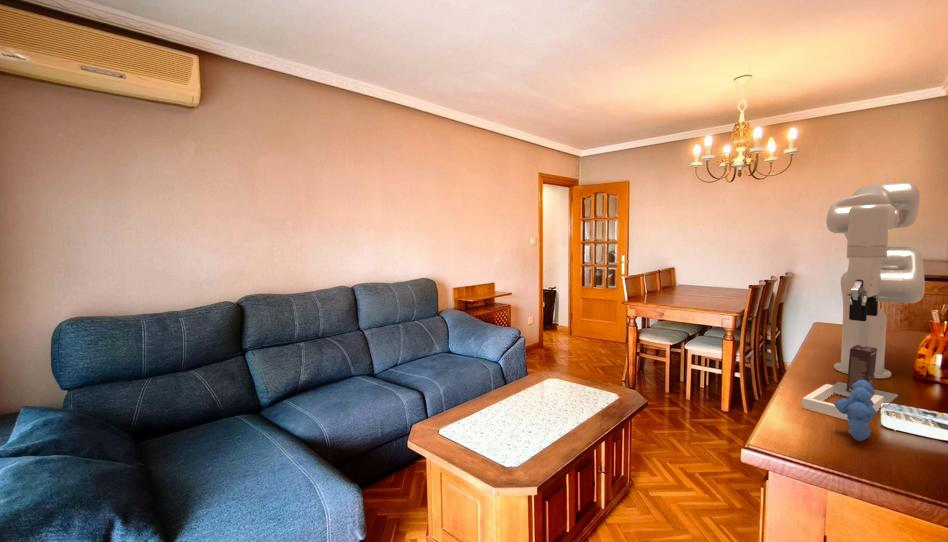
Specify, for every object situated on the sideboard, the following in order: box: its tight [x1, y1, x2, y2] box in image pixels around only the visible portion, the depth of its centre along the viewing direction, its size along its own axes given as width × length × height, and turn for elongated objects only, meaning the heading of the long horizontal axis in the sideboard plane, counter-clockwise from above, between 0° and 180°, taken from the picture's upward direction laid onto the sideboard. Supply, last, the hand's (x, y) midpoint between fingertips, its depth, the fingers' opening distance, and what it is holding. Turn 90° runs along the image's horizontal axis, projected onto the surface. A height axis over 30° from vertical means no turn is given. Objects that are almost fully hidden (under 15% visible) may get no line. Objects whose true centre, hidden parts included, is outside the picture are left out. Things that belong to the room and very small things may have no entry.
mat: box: [833, 381, 899, 404], centre depth 107 cm, size 11×12×1 cm
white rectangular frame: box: [801, 383, 884, 422], centre depth 99 cm, size 16×11×2 cm, turn 123°
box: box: [846, 345, 877, 393], centre depth 107 cm, size 6×4×12 cm
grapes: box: [833, 380, 878, 442], centre depth 85 cm, size 12×7×12 cm, turn 132°
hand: (863, 317), depth 106 cm, fingers open, 9 cm apart
